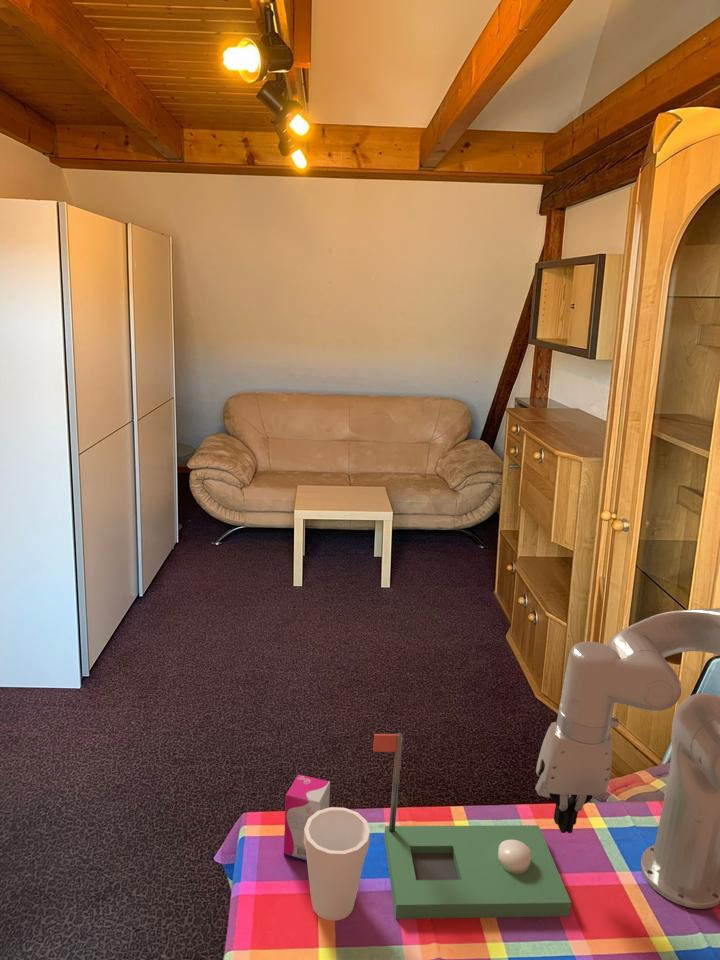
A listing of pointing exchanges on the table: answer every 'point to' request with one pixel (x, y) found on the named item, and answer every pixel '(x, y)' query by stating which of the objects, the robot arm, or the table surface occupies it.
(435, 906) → the putting mat
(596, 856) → the table surface
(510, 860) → the cream rounded stone
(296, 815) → the supplement box
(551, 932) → the table surface
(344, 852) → the foam cup
